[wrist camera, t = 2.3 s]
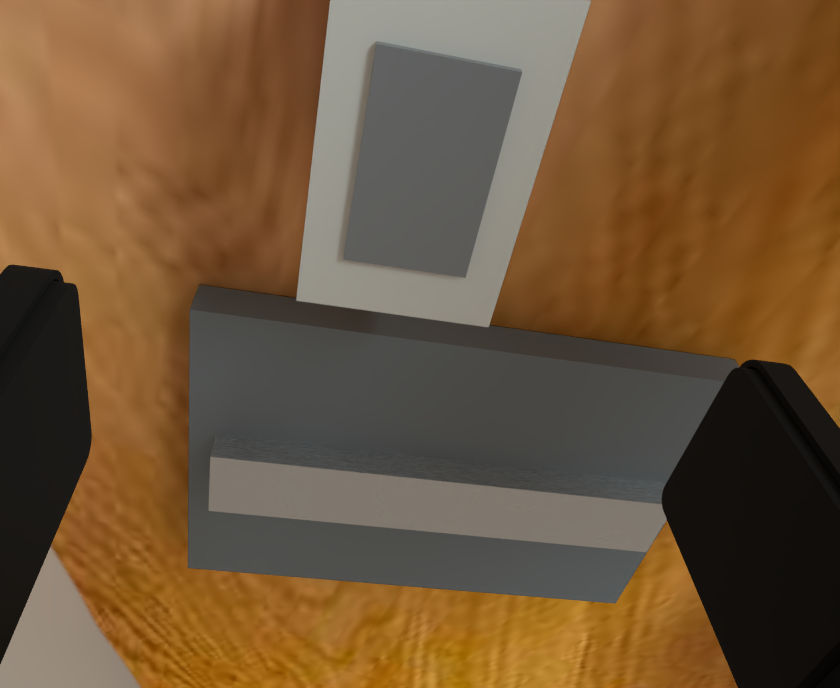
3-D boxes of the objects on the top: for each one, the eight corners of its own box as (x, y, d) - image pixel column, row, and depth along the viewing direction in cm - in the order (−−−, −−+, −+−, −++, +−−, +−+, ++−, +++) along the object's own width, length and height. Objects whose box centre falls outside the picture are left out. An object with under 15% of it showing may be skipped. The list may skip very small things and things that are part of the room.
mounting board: (734, 359, 28) (750, 385, 26) (607, 576, 36) (615, 603, 35) (199, 284, 25) (189, 309, 23) (195, 539, 33) (187, 567, 32)
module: (538, -52, 19) (593, 3, 14) (467, 219, 24) (489, 331, 19) (348, -94, 18) (335, -52, 13) (314, 194, 23) (295, 304, 18)
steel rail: (665, 482, 30) (675, 505, 29) (638, 529, 31) (646, 552, 30) (216, 433, 27) (210, 456, 26) (214, 486, 29) (208, 510, 28)
